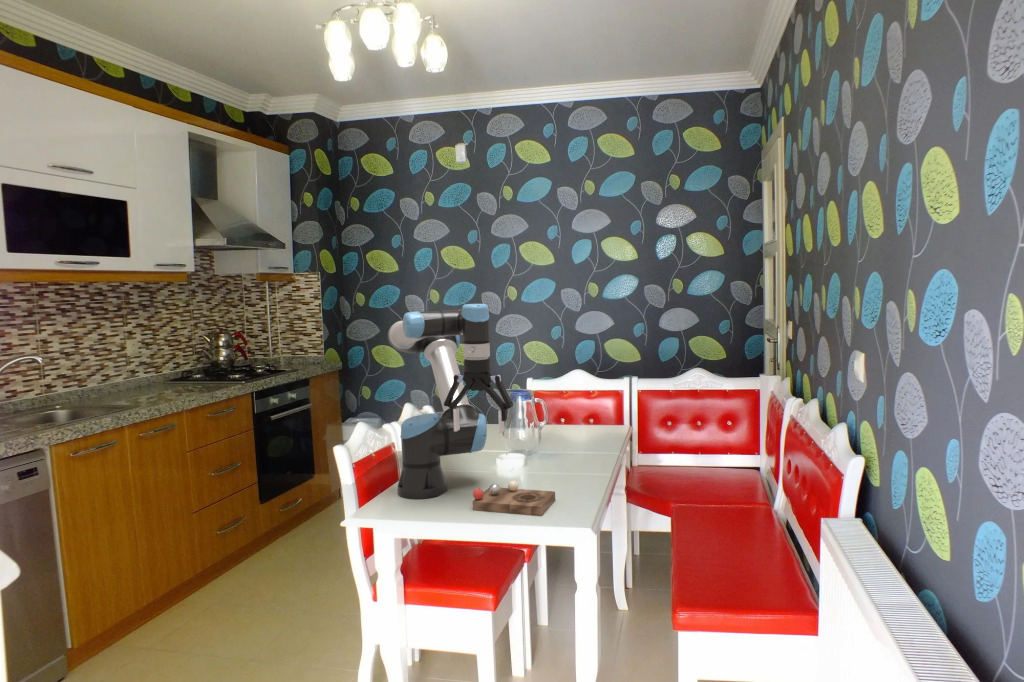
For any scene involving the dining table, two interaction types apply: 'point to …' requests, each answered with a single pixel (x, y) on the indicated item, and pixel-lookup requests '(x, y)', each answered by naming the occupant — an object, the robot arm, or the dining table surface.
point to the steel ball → (494, 489)
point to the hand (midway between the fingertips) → (479, 431)
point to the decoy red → (478, 494)
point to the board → (516, 501)
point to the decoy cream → (513, 485)
